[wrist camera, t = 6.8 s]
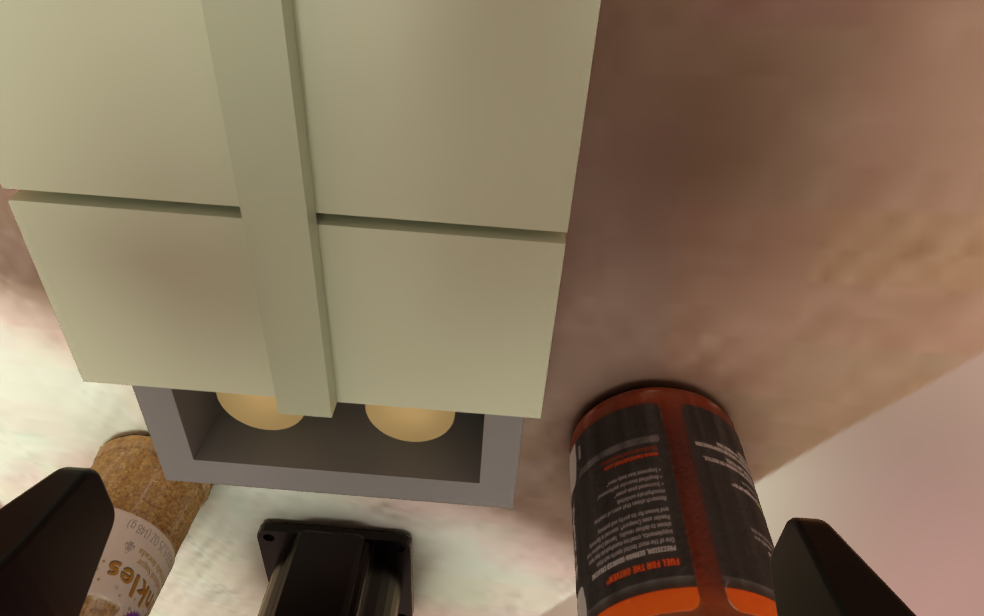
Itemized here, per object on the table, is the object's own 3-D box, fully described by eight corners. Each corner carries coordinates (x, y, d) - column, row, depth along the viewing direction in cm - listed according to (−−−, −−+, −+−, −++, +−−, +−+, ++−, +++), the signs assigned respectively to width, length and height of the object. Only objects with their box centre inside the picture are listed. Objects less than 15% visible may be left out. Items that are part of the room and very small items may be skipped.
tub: (517, 387, 23) (512, 508, 19) (229, 364, 23) (166, 480, 19) (568, -73, 15) (579, -27, 11) (118, -107, 15) (-34, -73, 11)
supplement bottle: (538, 457, 25) (537, 818, 16) (626, 352, 22) (686, 733, 13) (669, 508, 27) (736, 867, 18) (771, 417, 24) (916, 801, 15)
